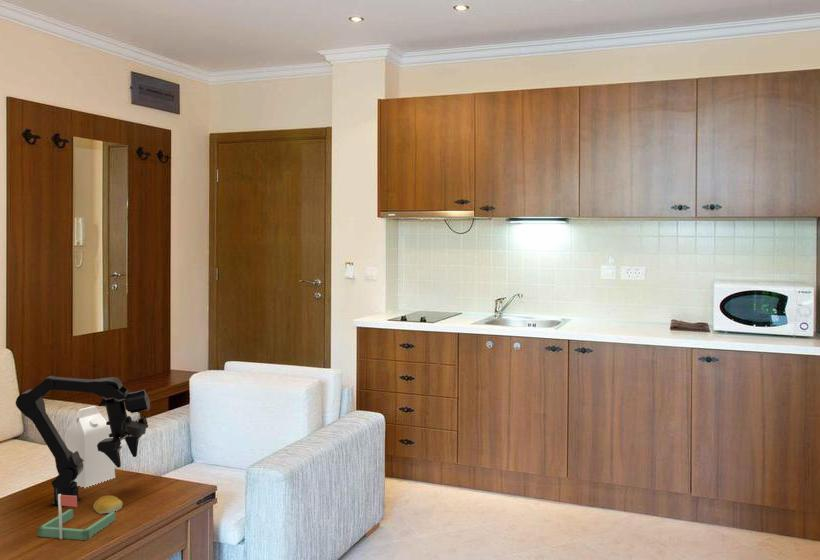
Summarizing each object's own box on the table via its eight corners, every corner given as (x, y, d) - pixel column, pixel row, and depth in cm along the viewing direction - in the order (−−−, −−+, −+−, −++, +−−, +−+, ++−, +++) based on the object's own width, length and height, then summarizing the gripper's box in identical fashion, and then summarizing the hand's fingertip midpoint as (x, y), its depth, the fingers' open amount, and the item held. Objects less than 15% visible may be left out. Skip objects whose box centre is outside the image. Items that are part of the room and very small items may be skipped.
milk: (94, 472, 260) (92, 402, 258) (115, 477, 254) (112, 406, 252) (64, 482, 250) (61, 409, 248) (85, 488, 244) (82, 413, 242)
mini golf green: (36, 537, 204) (34, 493, 203) (69, 517, 219) (68, 475, 218) (84, 541, 201) (82, 496, 201) (115, 520, 216) (114, 478, 215)
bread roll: (99, 517, 219) (99, 504, 219) (90, 508, 226) (90, 496, 226) (127, 510, 225) (126, 497, 224) (117, 502, 231) (117, 490, 231)
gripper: (123, 422, 222) (133, 470, 223) (154, 405, 240) (164, 449, 241) (91, 426, 224) (101, 473, 225) (125, 408, 242) (134, 452, 244)
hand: (127, 461), depth 234 cm, fingers open, 9 cm apart
